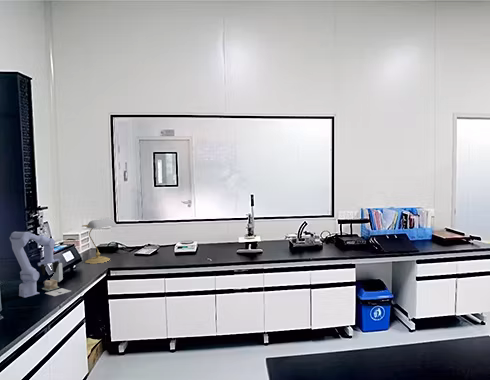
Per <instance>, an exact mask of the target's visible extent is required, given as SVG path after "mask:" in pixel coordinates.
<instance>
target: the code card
mask: <svg viewBox="0 0 490 380" xmlns="http://www.w3.org/2000/svg"><path fill="white" fill-rule="evenodd" d="M70 292H72V290H70V289H66V288H57V289H53V290H50V291H46V292H45V293H44V294H46V295H49V296H53V297H57V296H60V295H64V294H67V293H70Z"/></svg>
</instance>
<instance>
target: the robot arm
mask: <svg viewBox="0 0 490 380" xmlns="http://www.w3.org/2000/svg"><path fill="white" fill-rule="evenodd" d="M30 240H32V241H35V243H36V244H39V245H42V246H43V261H39V262H37V266H38V267H39V269H40V271H41V274H42V276H46V267H47V266H46V265H49V264H51V263H52V264H53V272H56V269H57V267H58V265H59V263H61V259H60V258H54V248H55V244H56V240H55V239H54V238H52V237H51V238H50V237H49V236H45V235H44V234H39V235H36V234H35V233H32V232H31V231H13V232H11V234H10V236H9V241H10V243H11V248H12V252H13V254H14V256H15V258H16V260H17V262H18V264H19V266H20V269H21V271H19V274H20V280H21V281H22V283H20V284H19V287H18V289H19V290H18V296H19V297H22V298H28V297H33V296H35V295H40V292H38V291H37V281H38V280H39V278H40V272H39V271H37V269H36V268H34V267H33V266H32V265H31V263H30V259H29V258H28V256H27V255H28V254H27V253H26V251H25V249H24V247H25V246H26V245H27V244H28V242H29V241H30Z"/></svg>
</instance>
